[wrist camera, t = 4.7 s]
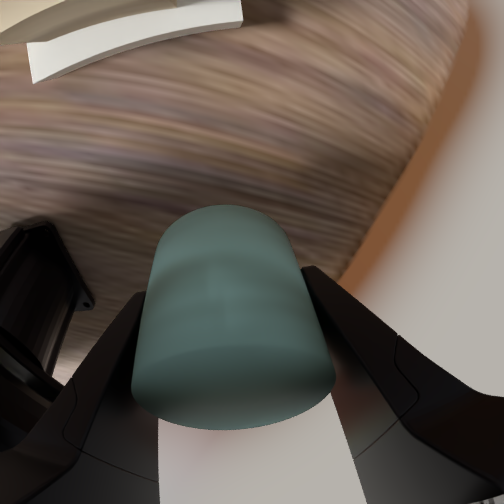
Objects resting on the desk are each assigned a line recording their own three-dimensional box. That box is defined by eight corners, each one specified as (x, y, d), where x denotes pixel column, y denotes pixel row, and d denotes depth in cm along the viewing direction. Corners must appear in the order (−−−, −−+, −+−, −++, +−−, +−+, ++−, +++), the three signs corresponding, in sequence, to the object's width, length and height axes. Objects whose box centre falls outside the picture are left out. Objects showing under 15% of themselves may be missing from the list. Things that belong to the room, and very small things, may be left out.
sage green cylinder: (295, 300, 10) (327, 413, 7) (178, 320, 10) (175, 433, 7) (288, 192, 8) (349, 320, 4) (134, 221, 8) (90, 358, 4)
